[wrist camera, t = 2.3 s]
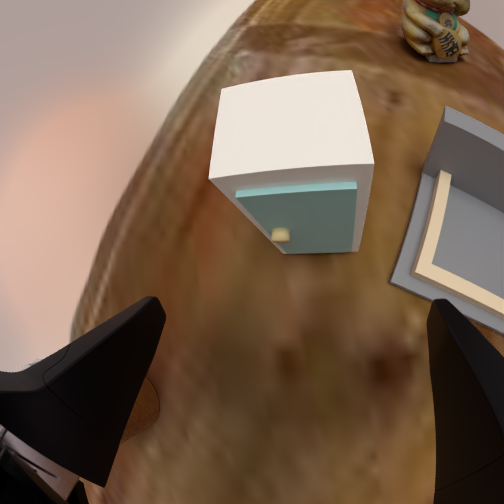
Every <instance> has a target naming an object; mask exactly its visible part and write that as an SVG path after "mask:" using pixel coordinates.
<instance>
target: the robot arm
mask: <svg viewBox="0 0 504 504" xmlns="http://www.w3.org/2000/svg"><path fill="white" fill-rule="evenodd" d="M165 321H166V313H165V311H164V309H163V307H162V305H161V303H160V301H159V299H158V298H157V297H152V296H147V297H145V298H143V299H141V300H140V301H138V302H136V303H135V304H133V305H131V306H130V307H128V308H126V309H125V310H123V311H121V312H120V313H118V314H117V315H115V316H113V317H112V318H110V319H108V320H107V321H105V322H104V323H102V324H100V325H99V326H97V327H96V328H94V329H92V330H91V331H89V332H87V333H86V334H84V335H83V336H81V337H79V338H78V339H76V340H75V341H73V342H72V343H70V344H68V345H67V346H65V347H63V348H62V349H60V350H59V351H57V352H56V353H54V354H52V355H50V356H48V357H46V358H45V359H43V360H41V361H39V362H37V363H35V364H34V365H32V366H30V367H28V368H26V369H24V370H22V371H20V372H12V373H11V372H1V371H0V504H89V503H88V499H87V496H86V492H85V488H84V484H83V482H81V481H80V480H79V477H82V478H84V479H86V480H88V481H90V482H92V483H94V484H96V485H99V486H101V487H103V488H104V487H105V486H106V483H107V480H108V477H109V474H110V471H111V468H112V465H113V462H114V459H115V456H116V454H117V451H118V448H119V445H120V442H121V439H122V436H123V434H124V431H125V428H126V426H127V423H128V420H129V418H130V415H131V412H132V410H133V407H134V405H135V402H136V399H137V397H138V394H139V392H140V389H141V387H142V384H143V382H144V380H145V377H146V375H147V372H148V370H149V367H150V365H151V363H152V360H153V358H154V355H155V352H156V349H157V346H158V343H159V340H160V336H161V333H162V330H163V327H164V324H165ZM427 334H428V346H429V364H430V376H431V384H432V392H433V402H434V414H435V430H436V478H435V493H434V503H433V504H504V357H503V356H502V355H501V354H500V353H499V351H498V350H497V349H496V348H495V347H494V346H493V345H492V344H491V343H490V342H489V340H488V339H487V338H486V337H485V336H484V335H483V334H482V333H481V332H480V331H479V330H478V329H477V328H476V327H475V326H474V325H473V324H472V323H471V322H470V321H469V320H468V319H467V318H466V317H465V316H464V315H463V314H462V313H461V312H460V311H459V310H458V309H457V308H456V307H455V306H454V305H453V304H452V303H451V302H450V301H449V300H448V299H446V298H439V299H434V300H433V302H432V305H431V308H430V312H429V315H428V319H427Z"/></svg>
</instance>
